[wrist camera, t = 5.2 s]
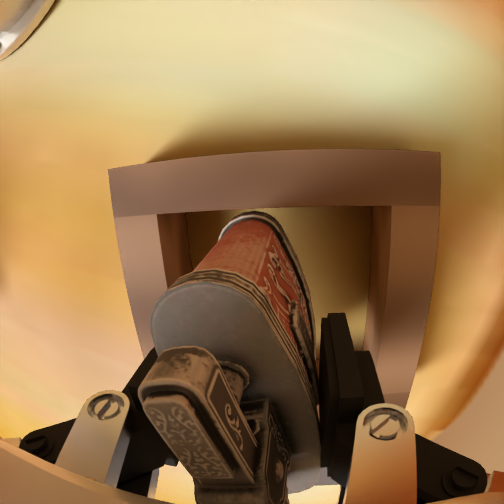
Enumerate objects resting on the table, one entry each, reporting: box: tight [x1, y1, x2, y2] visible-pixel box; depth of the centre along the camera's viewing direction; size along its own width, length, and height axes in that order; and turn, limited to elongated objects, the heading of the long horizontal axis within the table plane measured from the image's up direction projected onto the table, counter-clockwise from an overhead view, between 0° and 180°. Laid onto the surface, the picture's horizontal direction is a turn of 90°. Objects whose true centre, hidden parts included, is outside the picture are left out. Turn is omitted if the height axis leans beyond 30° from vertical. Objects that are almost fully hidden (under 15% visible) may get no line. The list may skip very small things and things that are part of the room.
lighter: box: [138, 211, 321, 504], centre depth 10 cm, size 8×3×10 cm, turn 18°
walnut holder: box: [108, 149, 441, 417], centre depth 15 cm, size 14×14×4 cm
